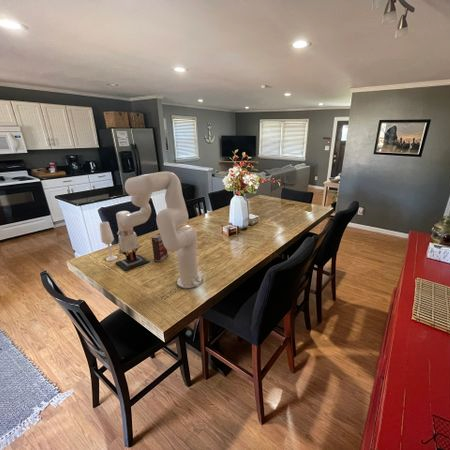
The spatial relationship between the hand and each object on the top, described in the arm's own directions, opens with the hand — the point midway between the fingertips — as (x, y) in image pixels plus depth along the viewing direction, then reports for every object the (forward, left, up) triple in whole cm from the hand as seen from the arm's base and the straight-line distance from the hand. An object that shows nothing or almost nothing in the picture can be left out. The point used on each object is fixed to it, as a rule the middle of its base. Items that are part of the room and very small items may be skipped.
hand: (131, 259), depth 147 cm
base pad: (0, 0, -2) cm, 2 cm away
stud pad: (0, 0, -2) cm, 2 cm away
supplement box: (-8, -15, -3) cm, 17 cm away
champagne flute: (+16, +6, -3) cm, 17 cm away
